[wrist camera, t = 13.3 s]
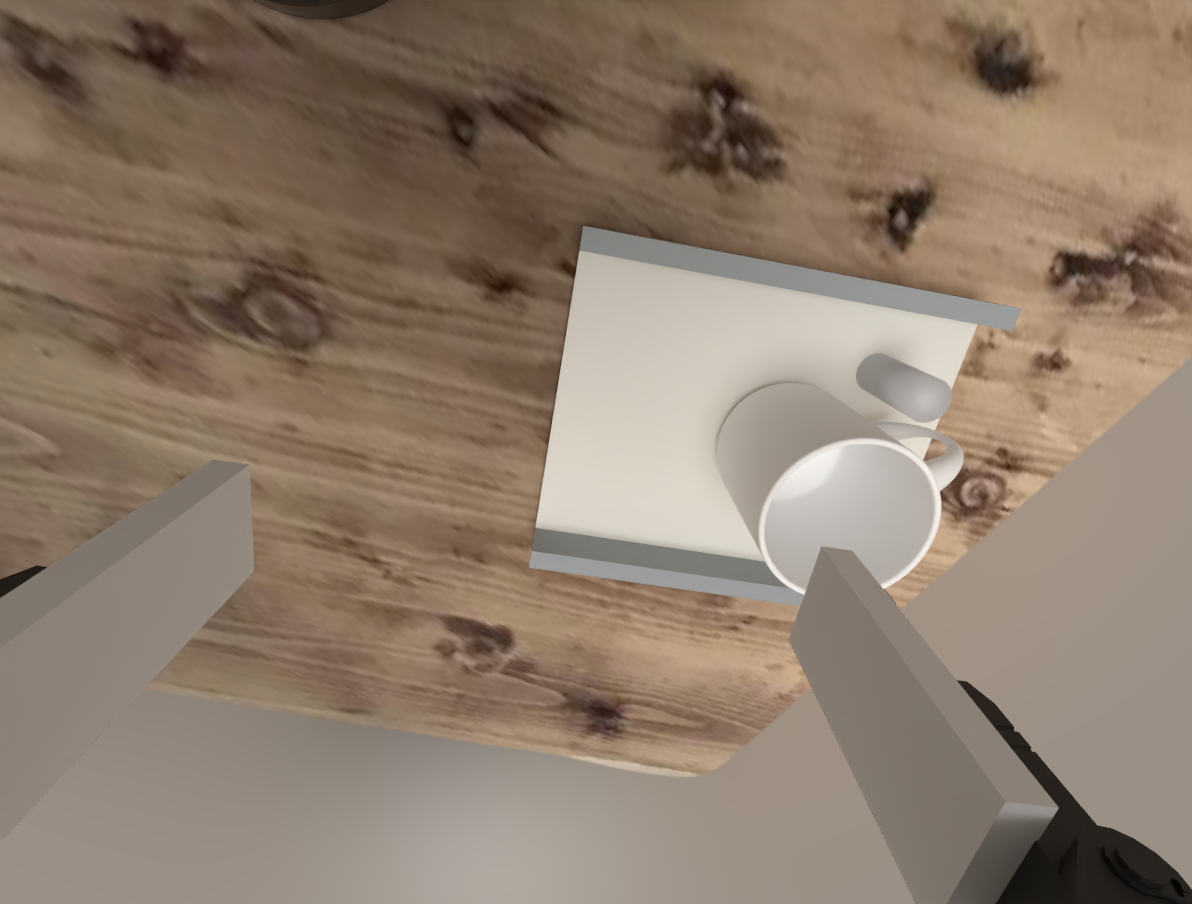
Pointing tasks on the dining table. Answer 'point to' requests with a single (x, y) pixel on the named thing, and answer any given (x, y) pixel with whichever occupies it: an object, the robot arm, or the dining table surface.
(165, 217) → the dining table surface
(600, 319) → the channel board
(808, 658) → the robot arm
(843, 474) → the mug
